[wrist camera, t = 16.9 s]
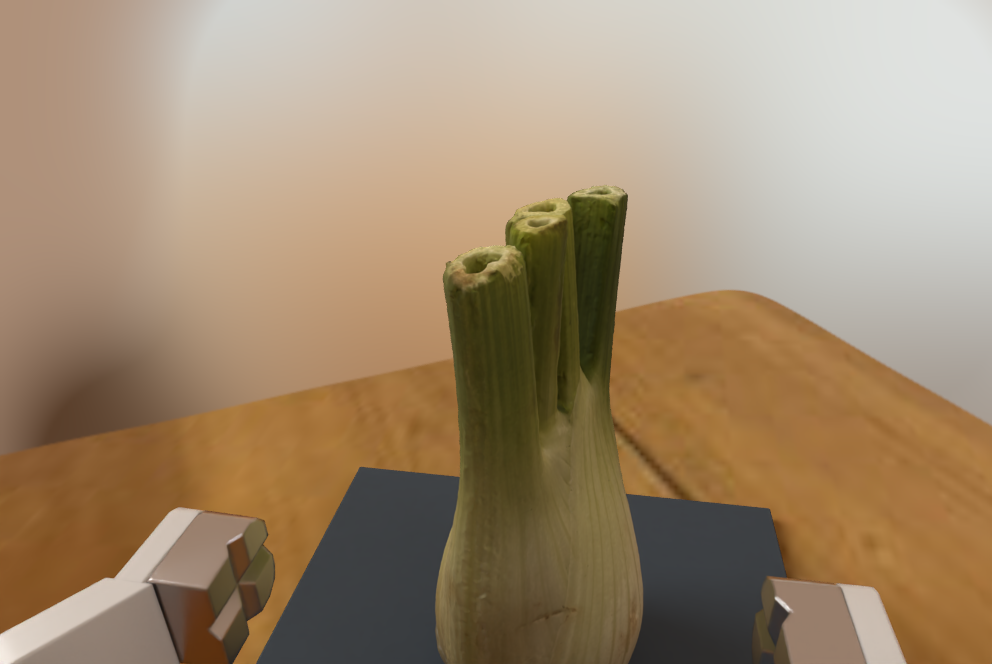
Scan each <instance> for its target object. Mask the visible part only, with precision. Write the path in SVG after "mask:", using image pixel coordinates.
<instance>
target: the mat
mask: <svg viewBox="0 0 992 664" xmlns="http://www.w3.org/2000/svg"><path fill="white" fill-rule="evenodd" d="M459 479H460V477H454V476H444V475H435V474H425V473H415V472H405V471H395V470H386V469H376V468H366V467H360V468H359V470H358V472H357V474H356V475H355V477H354V479H353V481H352V483H351V485H350V487H349V489H348V491H347V493H346V494H345V496H344V498H343V500H342V502H341V504H340V506H339V508H338V510H337V511H336V513H335V515H334V517H333V519H332V521H331V523H330V525H329V527H328V528H327V530H326V532H325V534H324V536H323V538H322V540H321V542H320V544H319V546H318V547H317V549H316V551H315V553H314V555H313V557H312V559H311V561H310V563H309V564H308V566H307V568H306V570H305V572H304V574H303V576H302V578H301V580H300V581H299V583H298V585H297V587H296V589H295V591H294V593H293V595H292V597H291V599H290V600H289V602H288V604H287V606H286V608H285V610H284V612H283V614H282V616H281V617H280V619H279V621H278V623H277V625H276V627H275V629H274V631H273V633H272V634H271V636H270V638H269V640H268V642H267V644H266V646H265V648H264V650H263V652H262V653H261V655H260V657H259V659H258V661H257V663H256V664H445V663H444V662H443V660H442V658H441V656H440V654H439V651H438V648H437V640H436V633H435V628H436V613H435V602H436V589H437V582H438V577H439V570H440V567H441V561H442V558H443V554H444V550H445V546H446V543H447V540H448V537H449V534H450V531H451V528H452V526H453V521H454V515H455V511H456V506H457V499H458V491H459ZM626 496H627V500H628V504H629V508H630V513H631V518H632V522H633V527H634V533H635V537H636V542H637V546H638V553H639V559H640V567H641V575H642V583H643V615H642V623H641V629H640V632H639V637H638V639H637V643H636V645H635V648H634V651H633V653H632V656H631V658H630V661H629V663H628V664H753V661H752V649H751V647H752V629H753V624H754V619H755V614H756V613H758V612H759V611H761V610H762V609H763V605H762V600H761V595H760V593H761V589H762V585H763V581H764V580H765V578H766V577H767V576H773V577H782V578H787V576H786V572H785V568H784V564H783V560H782V556H781V552H780V548H779V544H778V540H777V536H776V532H775V528H774V524H773V520H772V516H771V512H770V509H768V508H758V507H749V506H739V505H729V504H719V503H709V502H699V501H690V500H680V499H670V498H660V497H650V496H641V495H631V494H626Z"/></svg>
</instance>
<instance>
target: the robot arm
mask: <svg viewBox="0 0 992 664" xmlns="http://www.w3.org/2000/svg"><path fill="white" fill-rule="evenodd" d="M267 536H268V532H267V528H266V525H265V521H264V520H262V519H259V518H255V517H248V516H241V515H234V514H227V513H220V512H213V511H206V510H205V511H202V510H195V509H188V508H181V507H178V508H176V509H175V510H173V511H171V512H169V513H168V514H167V516H166V517H165V518H164V519H163V520H162V522H161V523H160V524H159V525H158V526H157V528H156V529H155V530H154V531H153V532H152V534H151V535H150V536H149V537H148V538H147V540H146V541H145V542H144V543H143V545H142V546H141V547H140V548H139V549H138V551H137V552H136V553H135V554H134V555H133V557H132V558H131V559H130V560H129V561H128V563H127V564H126V565H125V566H124V567H123V569H122V570H121V571H120V572H119V573H118V575H117V576H116V577H115V578H114V579H112V578H105V579H103V580H101V581H99V582H97V583H95V584H93V585H91V586H90V587H88V588H86V589H84V590H82V591H80V592H78V593H77V594H75V595H73V596H71V597H69V598H67V599H65V600H63V601H62V602H60V603H58V604H56V605H54V606H52V607H50V608H49V609H47V610H45V611H43V612H41V613H39V614H37V615H35V616H34V617H32V618H30V619H28V620H26V621H24V622H22V623H21V624H19V625H17V626H15V627H13V628H11V629H9V630H8V631H6V632H4V633H2V634H0V664H180V663H184V664H233V662H234V660H235V658H236V657H237V655H238V653H239V651H240V650H241V648H242V646H243V644H244V642H245V641H246V639H247V637H248V635H249V629H248V624H247V621H248V620H250V619H251V618H253V617H254V616H256V615H257V614H259V613H260V612H262V610H263V608H264V607H265V605H266V603H267V601H268V599H269V597H270V594H271V591H272V587H273V583H274V580H275V563H274V558H273V554H272V553H271V552H270V551H269V550H268V549H267V548H266V547H265V546H264V545H263V543H264V541H265V540H266V538H267ZM760 595H761V600H762V605H763V609H762V610H761V611H759V612H758V613H756V614H755V619H754V624H753V629H752V647H751V649H752V661H753V664H907V663H906V661H905V658H904V656H903V653H902V651H901V648H900V646H899V643H898V641H897V638H896V636H895V633H894V631H893V628H892V626H891V623H890V621H889V618H888V616H887V613H886V611H885V608H884V606H883V603H882V601H881V598H880V596H879V593H878V592H877V591H876V590H875V589H874V588H873V587H867V586H857V585H848V584H839V583H837V584H834V583H830V582H820V581H811V580H801V579H792V578H782V577H773V576H767V577H766V578H765V580H764V581H763V585H762V589H761V593H760Z"/></svg>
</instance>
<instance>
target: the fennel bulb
mask: <svg viewBox="0 0 992 664" xmlns="http://www.w3.org/2000/svg"><path fill="white" fill-rule="evenodd" d="M627 201H628V195H627V194H626V193H625V192H624V190H623V189H620V188H618V187H615V186H612V187H611V186H607V185H604V186H595V187H594V186H593V187H591V188H589V189H582V190H580V191H576V192H574V193H572V194H571V195H570V196H568V199H567V201H566V200H563V199H562V198H555V199H548V200H545V201H542V202H536V203H533V204H530V205H526V206H524V207H522V208H520V209H517V210H516V212H515V214H514V217H512V218H511V219H510V220H509V221H508V222H507V225H506V231H505V234H506V246H490V247H478V248H475V249H472V250H470V251H468V252H466V253H464V254H461V255H459V256H458V257H457V258H456V259H455V260H454V261H453V262H451V261H449V262H447V263H446V270H445V272H444V274H443V283H444V292H445V298H446V303H447V312H448V318H449V327H450V333H451V343H452V350H453V358H454V369H455V378H456V392H457V401H458V410H459V411H458V422H459V431H460V479H459V491H458V499H457V506H456V511H455V515H454V521H453V526H452V528H451V531H450V534H449V537H448V540H447V543H446V546H445V550H444V554H443V558H442V561H441V567H440V570H439V577H438V582H437V589H436V602H435V613H436V628H435V633H436V640H437V648H438V651H439V654H440V656H441V658H442V660H443V662H444V663H445V664H628V663H629V661H630V658H631V656H632V653H633V651H634V648H635V645H636V643H637V639H638V637H639V632H640V629H641V623H642V615H643V583H642V575H641V567H640V559H639V553H638V546H637V542H636V537H635V533H634V527H633V522H632V518H631V513H630V508H629V504H628V500H627V496H626V492H625V488H624V484H623V479H622V473H621V469H620V464H619V457H618V450H617V445H616V438H615V431H614V426H613V420H612V415H611V409H610V395H609V382H610V368H611V358H612V345H613V333H614V326H615V311H616V301H617V290H618V279H619V272H620V263H621V254H622V243H623V237H624V226H625V219H626V211H627Z"/></svg>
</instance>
